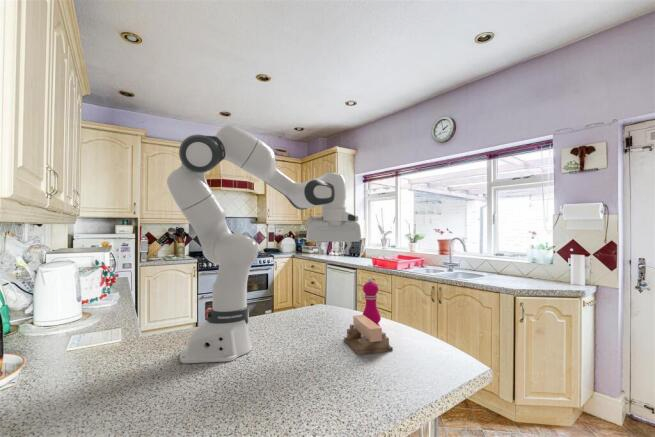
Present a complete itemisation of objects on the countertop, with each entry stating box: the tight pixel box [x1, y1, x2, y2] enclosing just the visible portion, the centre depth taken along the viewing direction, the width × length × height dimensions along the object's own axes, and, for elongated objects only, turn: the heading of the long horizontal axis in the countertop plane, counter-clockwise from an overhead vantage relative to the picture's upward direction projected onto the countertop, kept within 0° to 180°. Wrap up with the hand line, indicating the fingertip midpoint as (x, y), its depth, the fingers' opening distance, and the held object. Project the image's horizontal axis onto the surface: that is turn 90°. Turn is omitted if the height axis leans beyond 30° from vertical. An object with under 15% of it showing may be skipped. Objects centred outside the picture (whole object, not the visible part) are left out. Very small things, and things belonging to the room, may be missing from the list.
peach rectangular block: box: [352, 314, 383, 342], centre depth 108 cm, size 4×16×4 cm, turn 15°
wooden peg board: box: [343, 324, 394, 356], centre depth 108 cm, size 12×14×6 cm
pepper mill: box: [362, 277, 381, 327], centre depth 125 cm, size 7×7×20 cm
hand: (333, 254), depth 117 cm, fingers open, 8 cm apart
